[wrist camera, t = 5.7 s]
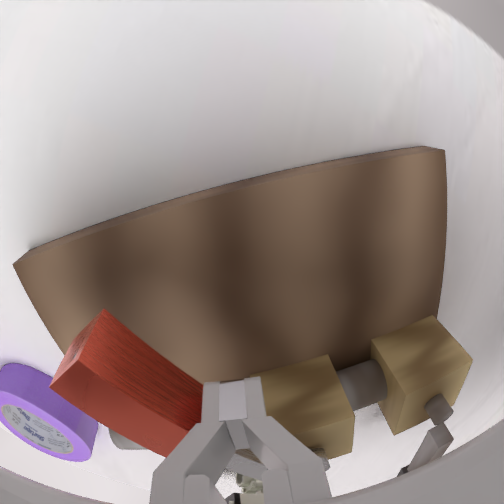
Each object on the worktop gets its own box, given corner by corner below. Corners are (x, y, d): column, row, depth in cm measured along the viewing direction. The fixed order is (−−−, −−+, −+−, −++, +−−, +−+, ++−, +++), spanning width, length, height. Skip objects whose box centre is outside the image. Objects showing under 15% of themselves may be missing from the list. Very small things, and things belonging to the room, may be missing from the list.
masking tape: (119, 438, 23) (113, 467, 19) (44, 431, 23) (36, 455, 19) (53, 359, 18) (36, 392, 15) (-16, 362, 18) (-32, 386, 14)
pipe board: (423, 146, 14) (567, 187, 5) (400, 411, 25) (436, 480, 16) (28, 250, 14) (-71, 349, 5) (181, 465, 25) (180, 541, 16)
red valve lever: (110, 296, 8) (77, 359, 5) (333, 448, 13) (346, 487, 11) (79, 328, 8) (48, 387, 6) (303, 462, 14) (313, 500, 11)
